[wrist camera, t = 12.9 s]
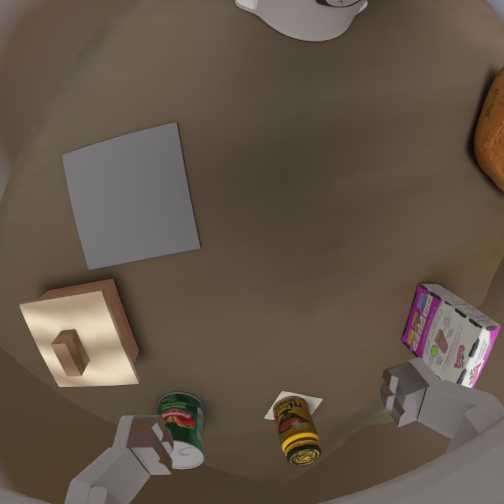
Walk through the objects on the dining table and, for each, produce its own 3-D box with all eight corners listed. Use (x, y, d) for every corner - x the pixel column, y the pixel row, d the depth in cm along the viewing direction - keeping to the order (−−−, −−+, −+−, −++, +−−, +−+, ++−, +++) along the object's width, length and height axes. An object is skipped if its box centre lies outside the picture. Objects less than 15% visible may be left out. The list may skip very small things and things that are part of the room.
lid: (21, 302, 32) (6, 316, 28) (103, 287, 33) (90, 303, 29) (61, 383, 37) (51, 401, 32) (140, 379, 37) (134, 400, 33)
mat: (64, 155, 33) (62, 155, 33) (177, 122, 34) (176, 122, 34) (90, 268, 38) (89, 269, 38) (200, 247, 39) (200, 248, 38)
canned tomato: (179, 426, 48) (175, 473, 38) (149, 402, 46) (139, 450, 35) (213, 411, 48) (214, 460, 37) (183, 384, 45) (178, 435, 35)
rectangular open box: (47, 290, 38) (28, 307, 33) (113, 278, 39) (98, 296, 33) (75, 356, 42) (62, 378, 36) (139, 350, 43) (130, 374, 37)
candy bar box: (421, 338, 48) (472, 391, 32) (400, 340, 47) (451, 398, 32) (438, 281, 45) (502, 325, 29) (417, 281, 44) (482, 329, 29)
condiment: (281, 390, 48) (296, 443, 36) (323, 398, 49) (344, 446, 38) (263, 417, 49) (273, 469, 38) (304, 423, 51) (319, 471, 40)
